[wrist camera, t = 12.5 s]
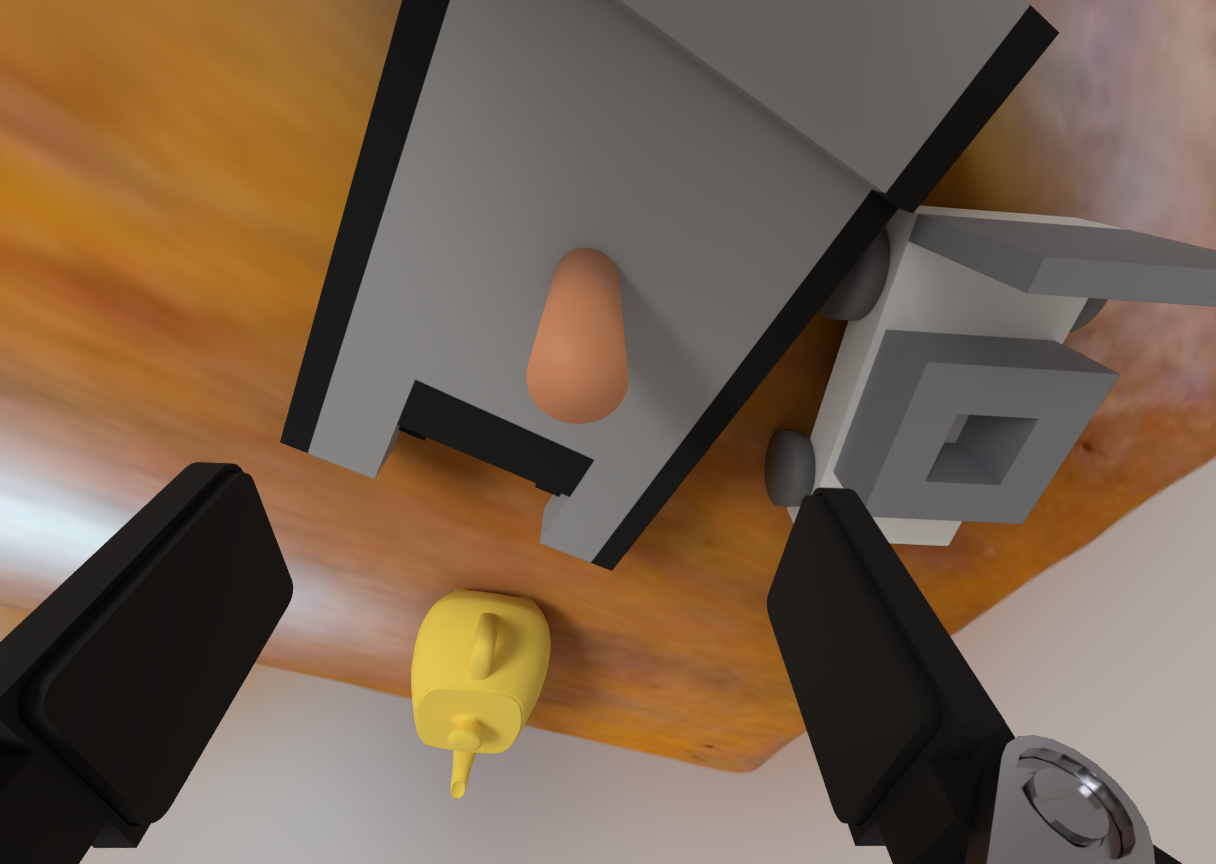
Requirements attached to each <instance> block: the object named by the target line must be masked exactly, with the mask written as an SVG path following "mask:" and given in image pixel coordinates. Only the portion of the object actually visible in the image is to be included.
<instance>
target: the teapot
mask: <svg viewBox="0 0 1216 864" xmlns="http://www.w3.org/2000/svg"><path fill="white" fill-rule="evenodd" d="M550 650H551V639H550V632H549V627H548V624H547V621H546V618H545V616H544V615H543V613H542V611H541V610H540V608H539V607H538V606H537V605H536V603H535V602H534V601H533V600H532V599H530V598H527V597H519V598H518V597H513V596H508V595H503V594H497V593H490V592H481V591H472V590H470V589H467V588H457V589H455V590H454V591H452V592H450V593H448V594H447V595H445V596H444V597H442V598H441V599H440V600H439V601H438V602H436V603H435V604H434V605H433V606H432V608H431V609H430V610H429V612H428V613H427V615H426V617H425V619H424V620H423V622H422V625H421V627H420V630H419V633H418V636H417V640H416V644H415V649H414V655H413V662H412V673H411V686H412V701H413V711H414V718H415V724H416V730H417V733H418V735H419V737H420V738H421V740H422V741H423V742H424V743H425V744H427V745H429V746H433V747H437V748H442V749H449V750H454V754H453V772H452V780H451V794H452V796H453V797H454V798H455V799H459V798H461V797H462V796H463V795H464V793H465V790H466V786H467V782H468V777H469V773H470V769H471V766H472V763H473V760H474V758H475V755H476V753H501V752H503V751H505V750H507V749H508V748H510V747H511V745H513V743H514V742H515V741H516V739H517V737H518V735H519V734H520V732H521V730H522V729H523V727H524V725H525V723H526V721H527V719H528V717H529V715H530V713H531V712H532V710H533V708H534V706H535V704H536V702H537V699H538V697H539V695H540V692H541V689H542V686H543V684H544V680H545V677H546V673H547V668H548V664H549V659H550Z"/></svg>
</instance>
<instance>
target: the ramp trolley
mask: <svg viewBox="0 0 1216 864" xmlns="http://www.w3.org/2000/svg"><path fill="white" fill-rule="evenodd" d="M1107 299H1112V300H1127V301H1141V302H1155V303H1170V304H1184V305H1199V306H1213V307H1216V250H1212V249H1208V248H1203V247H1199V246H1195V245H1191V244H1186V243H1182V242H1178V241H1174V240H1169V239H1165V238H1161V237H1157V236H1152V235H1148V234H1144V233H1140V232H1135V231H1131V230H1127V229H1123V228H1118V227H1114V226H1110V225H1106V224H1101V223H1097V222H1093V221H1089V220H1085V219H1080V218H1074V217H1061V216H1048V215H1035V214H1022V213H1009V212H996V211H983V210H970V209H957V208H944V207H931V206H919V207H918V208H917V209H916V211H915V212H914V213H910V212H907V211H904V210H901V209H898V210H897V211H896V213H895V214H894V215H893V217H892V218H891V219H890V220H889V222H888V223H887V224H886V225H885V227H884V228H883V229H882V230H881V232H880V233H879V234H878V235H877V237H876V238H875V239H874V241H873V242H872V243H871V244H870V246H869V247H868V248H867V249H866V251H865V252H864V253H863V254H862V256H861V257H860V258H859V259H858V261H857V262H856V263H855V264H854V266H853V267H852V268H851V270H850V271H849V272H848V273H847V275H846V276H845V277H844V278H843V280H842V281H841V282H840V283H839V285H838V286H837V287H836V288H835V290H834V291H833V292H832V294H831V295H830V296H829V297H828V299H827V300H826V301H825V302H824V304H823V305H822V306H821V307H820V309H819V310H820V312H821V314H822V315H823V316H824V317H825V318H827V319H838V320H849V321H848V324H847V327H846V330H845V333H844V336H843V339H842V342H841V345H840V348H839V352H838V355H837V358H836V361H835V364H834V367H833V370H832V373H831V376H830V379H829V382H828V385H827V388H826V391H825V394H824V397H823V400H822V403H821V406H820V410H819V413H818V416H817V419H816V422H815V425H814V428H813V431H812V434H811V437H810V439H809V437H808V436H807V435H806V434H805V433H804V432H798V431H777V432H775V433H774V435H773V436H772V438H771V440H770V442H769V445H768V448H767V453H766V459H765V482H766V488H767V492H768V495H769V498H770V500H771V501H772V503H773V504H774V505H777V506H788V507H787V511H788V513H789V515H790V517H791V519H792V522H793V524H794V522H795V519H796V516H797V514H798V511H799V508H800V505H801V503H802V500H803V498H804V497H805V496H807V495H812V494H813V492H814V490H815V489H816V488H820V487H824V488H849V489H852V490H854V491H855V492H856V493H857V494H858V496H859V497H860V499H861V500H862V502H863V503H864V505H865V507H866V508H867V510H868V511H869V513H870V514H871V516H872V517H873V519H874V520H875V522H876V523H877V525H878V527H879V528H880V530H881V531H882V533H883V534H884V536H885V537H886V539H887V540H888V542H889V543H894V544H916V545H938V546H948V545H949V544H950V542H951V540H952V538H953V536H954V535H955V533H956V531H957V529H958V528H959V526H960V524H961V522H962V521H968V522H989V523H1010V524H1023V523H1024V521H1025V520H1026V518H1027V517H1028V515H1029V514H1030V512H1031V511H1032V509H1033V507H1034V506H1035V504H1036V503H1037V501H1038V500H1039V498H1040V497H1041V495H1042V494H1043V492H1044V491H1045V489H1046V487H1047V486H1048V484H1049V483H1050V481H1051V480H1052V478H1053V477H1054V475H1055V474H1056V472H1057V471H1058V469H1059V467H1060V466H1061V464H1062V463H1063V461H1064V460H1065V458H1066V457H1067V455H1068V454H1069V452H1070V451H1071V449H1072V447H1073V446H1074V444H1075V443H1076V441H1077V440H1078V438H1079V437H1080V435H1081V434H1082V432H1083V431H1084V429H1085V427H1086V426H1087V424H1088V423H1089V421H1090V420H1091V418H1092V417H1093V415H1094V414H1095V412H1096V411H1097V409H1098V407H1099V406H1100V404H1101V403H1102V401H1103V400H1104V398H1105V397H1106V395H1107V394H1108V392H1109V391H1110V389H1111V387H1112V386H1113V384H1114V383H1115V381H1116V380H1117V378H1118V377H1119V375H1120V374H1119V373H1117V372H1115V371H1113V370H1111V369H1109V368H1107V367H1105V366H1103V365H1101V364H1099V363H1097V362H1095V361H1093V360H1092V359H1090V358H1088V357H1086V356H1084V355H1082V354H1080V353H1078V352H1076V351H1074V350H1072V349H1070V348H1068V347H1066V346H1064V345H1063V342H1064V341H1065V339H1066V337H1067V335H1068V333H1069V332H1072V331H1075V330H1077V329H1079V328H1081V327H1082V326H1084V325H1086V324H1087V323H1088V322H1089V321H1091V320H1092V319H1093V318H1094V317H1095V316H1096V315H1097V314H1098V313H1099V311H1100V310H1101V309H1102V307H1103V306H1104V304H1105V303H1106V301H1107Z"/></svg>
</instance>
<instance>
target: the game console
mask: <svg viewBox="0 0 1216 864" xmlns="http://www.w3.org/2000/svg"><path fill="white" fill-rule="evenodd" d="M1058 34H1059V32H1058V31H1057V30H1056V29H1055V28H1054V27H1053V26H1052V25H1051V24H1050V23H1049V22H1048V21H1046V20H1045V19H1044V18H1043V17H1042V16H1041V15H1040V14H1039V13H1038V12H1037V11H1036V10H1035V9H1034V8H1033V7H1032V6H1031V5H1030V4H1029V3H1028V2H1027V1H1026V0H402V3H401V7H400V10H399V14H398V18H397V21H396V25H395V28H394V32H393V36H392V39H391V43H390V46H389V50H388V54H387V57H386V61H385V65H384V68H383V72H382V75H381V79H380V83H379V86H378V90H377V93H376V97H375V101H374V104H373V108H372V112H371V115H370V119H369V122H368V126H367V130H366V133H365V137H364V140H363V144H362V148H361V151H360V155H359V159H358V162H357V166H356V169H355V173H354V177H353V180H352V184H351V187H350V191H349V195H348V198H347V202H346V206H345V209H344V213H343V216H342V220H341V224H340V227H339V231H338V234H337V238H336V242H335V245H334V249H333V253H332V256H331V260H330V263H329V267H328V271H327V274H326V278H325V281H324V285H323V289H322V292H321V296H320V299H319V303H318V307H317V310H316V314H315V318H314V321H313V325H312V328H311V332H310V336H309V339H308V343H307V346H306V350H305V354H304V357H303V361H302V365H301V368H300V372H299V375H298V379H297V383H296V386H295V390H294V393H293V397H292V401H291V404H290V408H289V412H288V415H287V419H286V422H285V426H284V430H283V433H282V437H281V440H280V443H283V444H286V445H288V446H291V447H293V448H296V449H299V450H301V451H304V452H306V453H309V454H311V455H314V456H317V457H319V458H322V459H324V460H327V461H329V462H332V463H335V464H337V465H340V466H342V467H345V468H348V469H350V470H353V471H355V472H358V473H360V474H363V475H366V476H368V477H371V478H373V479H375V478H376V476H377V474H378V473H379V471H380V469H381V468H382V466H383V464H384V463H385V461H386V459H387V458H388V456H389V454H390V453H391V451H392V449H393V448H394V446H395V443H396V441H397V438H398V436H399V433H400V431H403V432H405V433H408V434H410V435H412V436H415V437H417V438H419V439H422V440H424V441H425V439H426V437H428V438H430V439H433V440H435V441H437V442H440V443H442V444H445V445H447V446H449V447H452V448H454V449H456V450H459V451H461V452H464V453H466V454H468V455H471V456H473V457H475V458H478V459H480V460H483V461H485V462H487V463H490V464H492V465H494V466H497V467H499V468H502V469H504V470H506V471H509V472H511V473H513V474H516V475H518V476H521V477H523V478H525V479H528V480H530V481H532V482H535V483H536V486H535V487H537V488H539V489H541V490H544V491H546V492H549V493H551V494H553V495H552V497H551V499H550V500H549V502H548V503H547V505H546V506H545V508H544V514H543V521H542V529H541V536H540V543H541V544H544V545H546V546H549V547H551V548H554V549H557V550H559V551H562V552H564V553H567V554H570V555H572V556H575V557H577V558H580V559H582V560H585V561H588V562H590V563H593V564H595V565H598V566H601V567H603V568H606V569H608V570H611V571H612V570H613V569H614V568H615V566H616V565H617V564H618V563H619V561H620V560H621V559H622V557H623V556H624V555H625V554H626V552H627V551H628V550H629V549H630V547H631V546H632V545H633V544H634V542H635V541H636V540H637V539H638V537H639V536H640V535H641V533H642V532H643V531H644V530H645V528H646V527H647V526H648V525H649V523H650V522H651V521H652V520H653V518H654V517H655V516H656V515H657V513H658V512H659V511H660V510H661V508H662V507H663V506H664V504H665V503H666V502H667V501H668V499H669V498H670V497H671V496H672V494H673V493H674V492H675V491H676V489H677V488H678V487H679V486H680V484H681V483H682V482H683V480H684V479H685V478H686V477H687V475H688V474H689V473H690V472H691V470H692V469H693V468H694V467H695V465H696V464H697V463H698V462H699V460H700V459H701V458H702V456H703V455H704V454H705V453H706V451H707V450H708V449H709V448H710V446H711V445H712V444H713V443H714V441H715V440H716V439H717V438H718V436H719V435H720V434H721V432H722V431H723V430H724V429H725V427H726V426H727V425H728V424H729V422H730V421H731V420H732V419H733V417H734V416H735V415H736V414H737V412H738V411H739V410H740V408H741V407H742V406H743V405H744V403H745V402H746V401H747V400H748V398H749V397H750V396H751V395H752V393H753V392H754V391H755V390H756V388H757V387H758V386H759V384H760V383H761V382H762V381H763V379H764V378H765V377H766V376H767V374H768V373H769V372H770V371H771V369H772V368H773V367H774V366H775V364H776V363H777V362H778V360H779V359H780V358H781V357H782V355H783V354H784V353H785V352H786V350H787V349H788V348H789V347H790V345H791V344H792V343H793V342H794V340H795V339H796V338H797V336H798V335H799V334H800V333H801V331H802V330H803V329H804V328H805V326H806V325H807V324H808V323H809V321H810V320H811V319H812V318H813V316H814V315H815V314H816V312H817V311H818V310H819V309H820V307H821V306H822V305H823V304H824V302H825V301H826V300H827V299H828V297H829V296H830V295H831V294H832V292H833V291H834V290H835V288H836V287H837V286H838V285H839V283H840V282H841V281H842V280H843V278H844V277H845V276H846V275H847V273H848V272H849V271H850V270H851V268H852V267H853V266H854V264H855V263H856V262H857V261H858V259H859V258H860V257H861V256H862V254H863V253H864V252H865V251H866V249H867V248H868V247H869V246H870V244H871V243H872V242H873V241H874V239H875V238H876V237H877V235H878V234H879V233H880V232H881V230H882V229H883V228H884V227H885V225H886V224H887V223H888V222H889V220H890V219H891V218H892V217H893V215H894V214H895V213H896V211H897V210H898V209H901V210H904V211H907V212H910V213H914V212H915V211H916V209H917V208H918V207H919V206H920V204H921V203H922V202H923V201H924V200H925V198H926V197H927V196H928V195H929V193H930V192H931V191H932V190H933V188H934V187H935V186H936V185H937V183H938V182H939V181H940V180H941V178H942V177H943V176H944V175H945V174H946V172H947V171H948V170H949V169H950V167H951V166H952V165H953V164H954V162H955V161H956V160H957V159H958V157H959V156H960V155H961V154H962V153H963V151H964V150H965V149H966V148H967V146H968V145H969V144H970V143H971V141H972V140H973V139H974V138H975V136H976V135H977V134H978V133H979V132H980V130H981V129H982V128H983V127H984V125H985V124H986V123H987V122H988V120H989V119H990V118H991V117H992V115H993V114H994V113H995V112H996V111H997V109H998V108H999V107H1000V106H1001V104H1002V103H1003V102H1004V101H1005V99H1006V98H1007V97H1008V96H1009V94H1010V93H1011V92H1012V91H1013V89H1014V88H1015V87H1016V86H1017V85H1018V83H1019V82H1020V81H1021V80H1022V78H1023V77H1024V76H1025V75H1026V73H1027V72H1028V71H1029V70H1030V68H1031V67H1032V66H1033V65H1034V64H1035V62H1036V61H1037V60H1038V59H1039V57H1040V56H1041V55H1042V54H1043V52H1044V51H1045V50H1046V49H1047V47H1048V46H1049V45H1050V44H1051V43H1052V41H1053V40H1054V39H1055V38H1056V36H1057V35H1058ZM579 248H592V249H596V250H599V251H601V252H603V253H604V254H606V255H607V256H608V257H609V258H610V259H611V260H612V261H613V263H614V264H615V266H616V268H617V271H618V274H619V282H620V293H621V304H622V314H623V325H624V336H625V347H626V357H627V368H628V388H627V392H626V394H625V397H624V399H623V401H622V402H621V404H620V405H619V406H618V407H617V408H616V410H615V411H613V412H612V413H611V414H610V415H608V416H606V417H605V418H603V419H601V420H598V421H595V422H592V423H586V424H571V423H566V422H562V421H559V420H556V419H554V418H552V417H550V416H549V415H547V414H546V413H544V412H543V411H542V410H541V409H540V408H539V407H538V406H537V405H536V403H535V402H534V401H533V399H532V397H531V395H530V393H529V390H528V387H527V382H526V372H527V367H528V363H529V359H530V356H531V352H532V349H533V345H534V342H535V338H536V335H537V331H538V328H539V324H540V321H541V317H542V314H543V310H544V307H545V303H546V300H547V296H548V293H549V289H550V286H551V282H552V279H553V275H554V272H555V269H556V266H557V264H558V263H559V261H560V260H561V259H562V258H563V257H564V256H565V255H566V254H567V253H569V252H571V251H573V250H575V249H579Z"/></svg>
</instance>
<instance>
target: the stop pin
mask: <svg viewBox="0 0 1216 864" xmlns="http://www.w3.org/2000/svg"><path fill="white" fill-rule="evenodd" d="M526 382H527V387H528V390H529V393H530V395H531V397H532V399H533V401H534V402H535V403H536V405H537V406H538V407H539V408H540V409H541V410H542V411H543V412H544V413H546V414H547V415H549V416H550V417H552V418H554V419H556V420H559V421H562V422H566V423H571V424H586V423H592V422H595V421H598V420H601V419H603V418H605V417H606V416H608V415H610V414H611V413H612V412H613V411H615V410H616V408H617V407H618V406H619V405H620V404H621V402H622V401H623V399H624V397H625V394H626V392H627V388H628V368H627V357H626V347H625V336H624V325H623V314H622V304H621V293H620V282H619V274H618V271H617V268H616V266H615V264H614V263H613V261H612V260H611V259H610V258H609V257H608V256H607V255H606V254H604V253H603V252H601V251H599V250H596V249H592V248H579V249H575V250H573V251H571V252H569V253H567V254H566V255H565V256H564V257H563V258H562V259H561V260H560V261H559V263H558V264H557V266H556V269H555V272H554V275H553V279H552V282H551V286H550V289H549V293H548V296H547V300H546V303H545V307H544V310H543V314H542V317H541V321H540V324H539V328H538V331H537V335H536V338H535V342H534V345H533V349H532V352H531V356H530V359H529V363H528V367H527V372H526Z"/></svg>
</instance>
